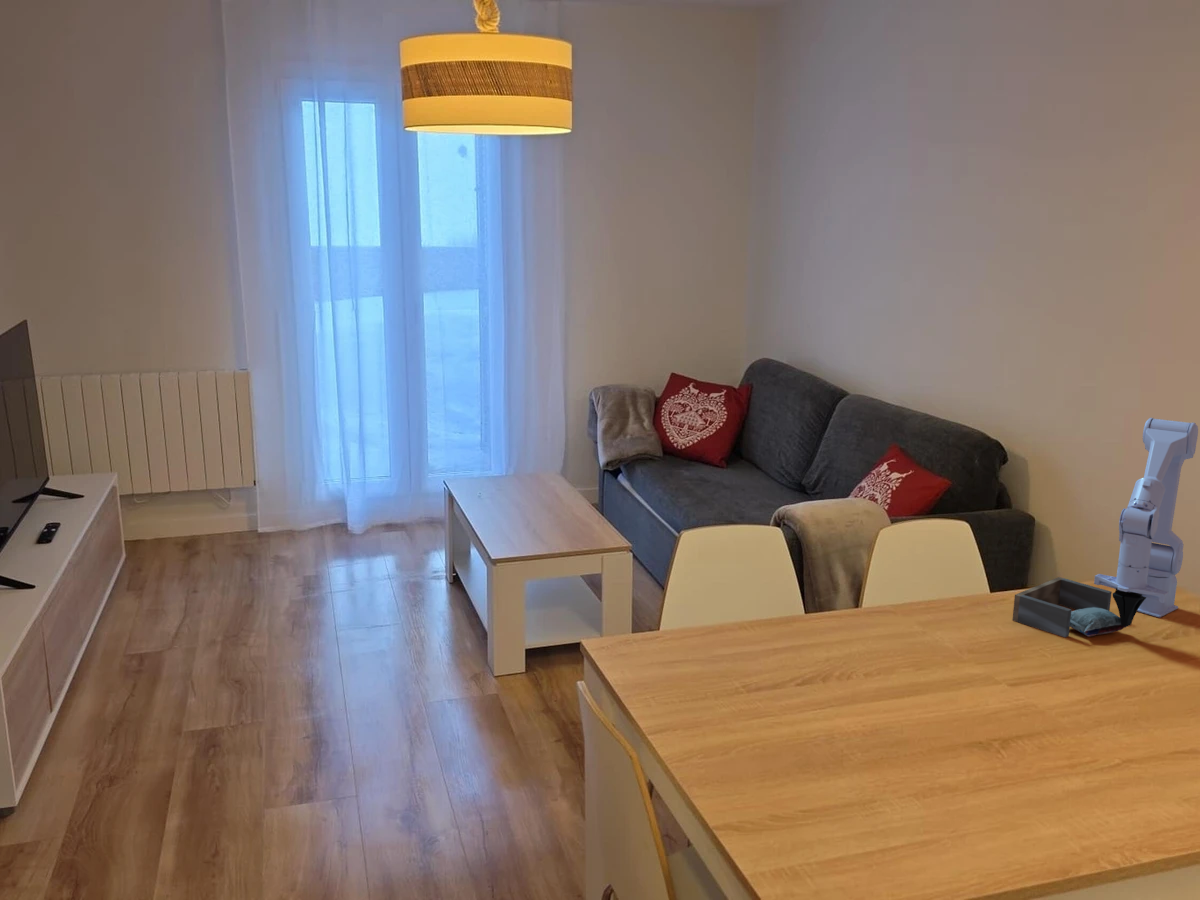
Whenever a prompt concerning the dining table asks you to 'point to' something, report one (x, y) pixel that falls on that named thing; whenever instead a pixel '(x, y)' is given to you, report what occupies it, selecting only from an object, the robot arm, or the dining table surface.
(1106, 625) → the packaged food
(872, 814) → the dining table surface
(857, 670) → the dining table surface
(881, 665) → the dining table surface
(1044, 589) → the grey u-shaped bracket
